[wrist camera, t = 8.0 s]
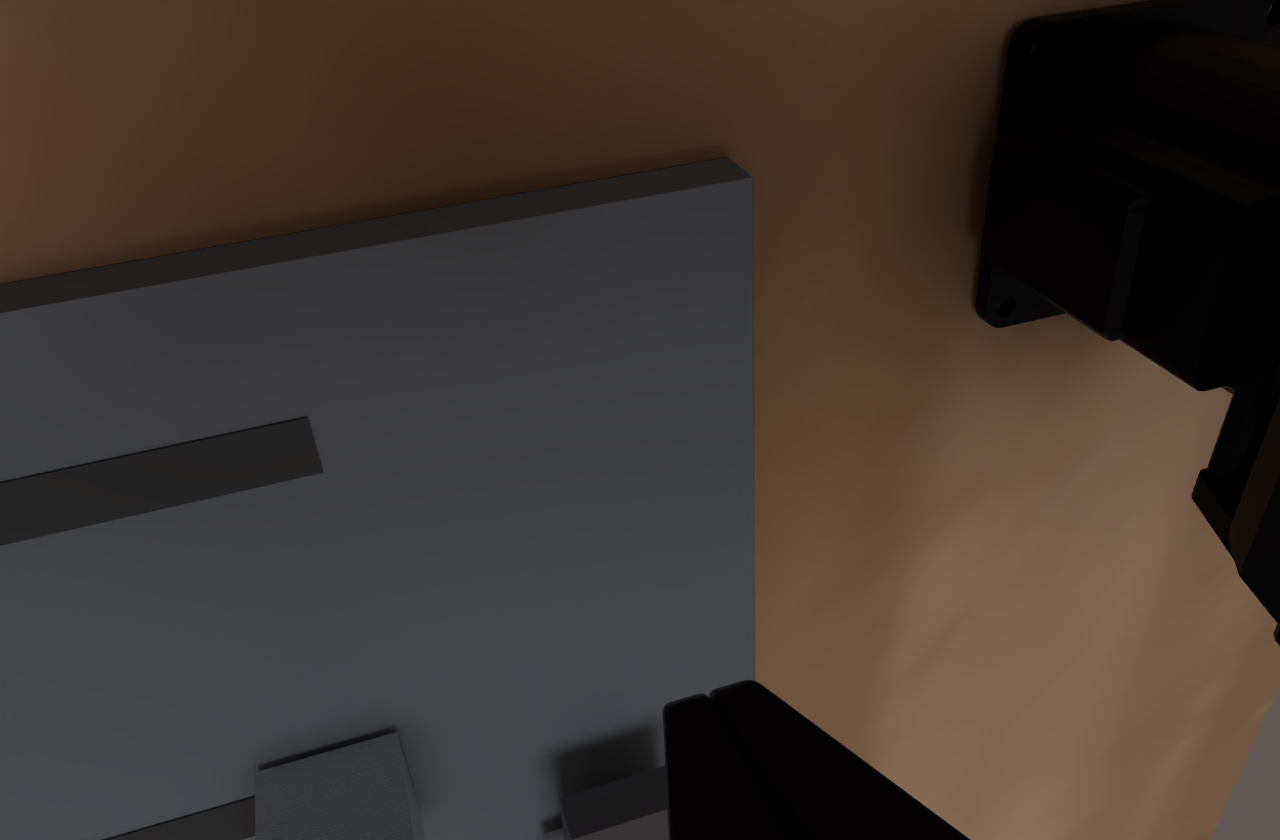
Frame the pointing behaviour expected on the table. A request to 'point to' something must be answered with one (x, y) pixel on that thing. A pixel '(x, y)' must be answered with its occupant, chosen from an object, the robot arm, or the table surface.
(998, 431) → the table surface
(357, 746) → the steel slider
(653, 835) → the dark grey small block
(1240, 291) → the robot arm
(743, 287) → the panel
